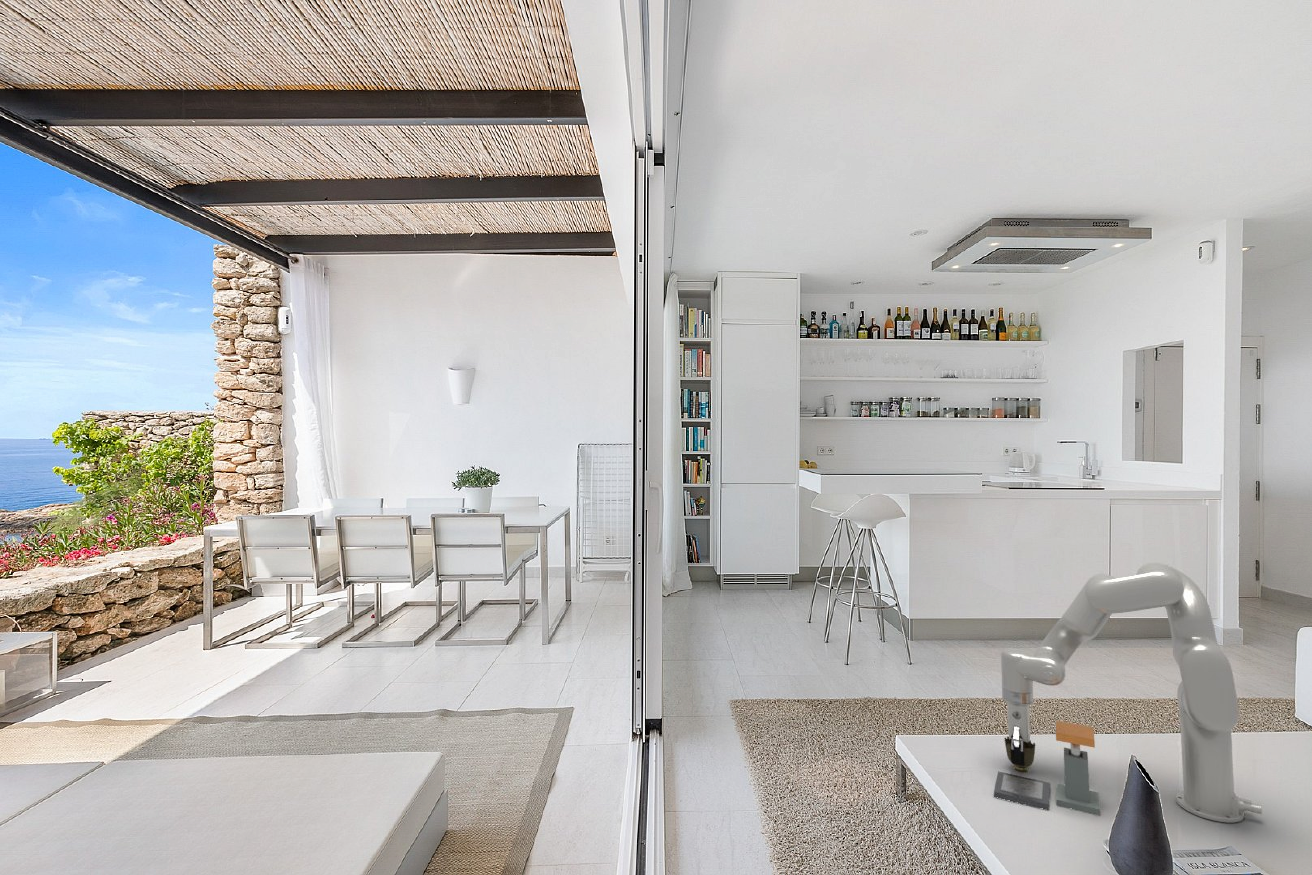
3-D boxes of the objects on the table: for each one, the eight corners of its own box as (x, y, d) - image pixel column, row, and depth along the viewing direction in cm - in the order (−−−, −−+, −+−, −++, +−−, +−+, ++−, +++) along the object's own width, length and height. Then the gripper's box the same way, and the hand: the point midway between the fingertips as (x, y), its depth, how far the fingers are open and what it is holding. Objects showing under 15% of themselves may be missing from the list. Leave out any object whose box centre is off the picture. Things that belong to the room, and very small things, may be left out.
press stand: (1098, 798, 162) (1096, 750, 162) (1100, 815, 154) (1098, 765, 155) (1056, 788, 167) (1054, 742, 167) (1056, 805, 159) (1054, 756, 159)
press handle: (1095, 774, 162) (1093, 726, 162) (1096, 789, 155) (1094, 739, 155) (1058, 767, 166) (1056, 720, 166) (1057, 780, 159) (1055, 732, 160)
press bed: (1050, 788, 167) (1049, 781, 167) (1049, 810, 157) (1048, 803, 157) (998, 776, 174) (998, 770, 174) (994, 797, 163) (993, 790, 164)
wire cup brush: (1042, 776, 173) (1041, 747, 173) (1014, 777, 173) (1013, 747, 173) (1026, 763, 180) (1025, 734, 181) (1000, 763, 181) (999, 735, 181)
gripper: (1031, 708, 168) (1033, 774, 168) (1034, 687, 183) (1035, 747, 182) (999, 702, 172) (1000, 766, 172) (1004, 682, 187) (1006, 741, 186)
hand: (1018, 756), depth 177 cm, fingers open, 9 cm apart
